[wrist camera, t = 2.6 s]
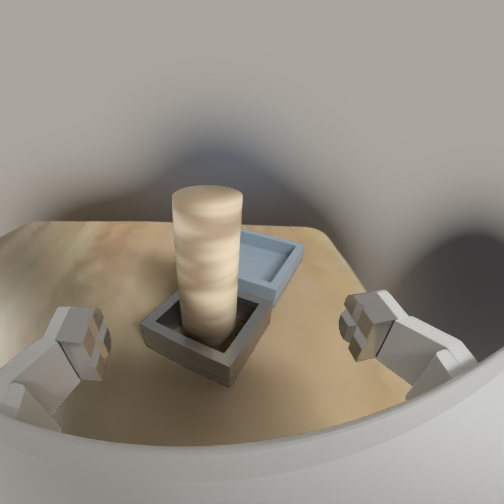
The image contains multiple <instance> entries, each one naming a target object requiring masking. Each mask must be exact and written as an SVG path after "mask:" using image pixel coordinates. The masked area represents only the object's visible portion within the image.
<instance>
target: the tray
mask: <svg viewBox="0 0 504 504" xmlns="http://www.w3.org/2000/svg"><path fill="white" fill-rule="evenodd" d="M304 246H305V245H304V244H300V243H297V242H293V241H289V240H285V239H281V238H277V237H273V236H270V235H266V234H262V233H258V232H254V231H250V230H246V229H242V228H241V233H240V251H239V270H238V290H240V291H243V292H246V293H249V294H252V295H255V296H258V297H262V298H265V299H268V300H271V301H273V304H272V308H274V306H275V305H276V303H277V301H278V300H279V298H280V296H281V295H282V293H283V291H284V290H285V288H286V286H287V285H288V283H289V281H290V280H291V278H292V276H293V275H294V273H295V271H296V269H297V268H298V266H299V264H300V263H301V261H302V257H303V252H304Z"/></svg>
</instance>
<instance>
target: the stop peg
mask: <svg viewBox="0 0 504 504" xmlns="http://www.w3.org/2000/svg"><path fill="white" fill-rule="evenodd" d="M242 196H243V195H242V194H241V192H239V191H237V190H235V189H232V188H229V187H224V186H216V185H200V186H191V187H187V188H183V189H180V190H178V191H176V192H174V193H173V195H172V209H173V229H174V244H175V257H176V269H177V280H178V290H179V299H180V307H181V316H182V323H183V331H184V336H186V337H188V338H190V339H192V340H195V341H197V342H199V343H201V344H204V345H206V346H208V347H210V348H213V349H215V350H217V351H220V352H222V353H223V352H225V351H226V350H227V349H228V348H229V346H230V345H231V343H232V342H233V341H234V339H235V332H236V310H237V290H238V270H239V251H240V233H241V215H242V199H243V198H242Z"/></svg>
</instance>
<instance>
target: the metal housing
mask: <svg viewBox="0 0 504 504" xmlns="http://www.w3.org/2000/svg"><path fill="white" fill-rule="evenodd" d="M272 304H273V301H271V300H268V299H265V298H262V297H258V296H255V295H252V294H249V293H246V292H243V291H240V290H237V310H236V319H239V320H242V321H244V322H246V324H245V325H244V327H243V328H242V329H241V331H240V332H239V334H238V335H237V337H236V338H235V339H234V341H233V342H232V343H231V345H230V346H229V348H228V349H227V350H226V352H225V353H222V352H220V351H217V350H215V349H213V348H210V347H208V346H206V345H204V344H201V343H199V342H197V341H195V340H192V339H190V338H188V337H186V336H184V335H182V334H180V333H178V332H176V331H174V329H175V328H176V327H177V326H178V325H179V324H180V323H181V322H182V316H181V307H180V299H179V290H177V291H176V292H175V293H174V294H173V295H171V296H170V297H169V298H168V299H167V300H166V301H165V302H163V303H162V304H161V305H160V306H159V307H158V308H157V309H156V310H154V311H153V312H152V313H151V314H150V315H149V316H148V317H147V318H145V319H144V320H143V321H142V322H141V323H140V326H141V329H142V333H143V337H144V340H145V344H146V346H148V347H149V348H151V349H153V350H155V351H157V352H158V353H160V354H162V355H164V356H166V357H167V358H169V359H171V360H173V361H175V362H177V363H179V364H181V365H183V366H185V367H187V368H189V369H191V370H193V371H195V372H197V373H199V374H201V375H203V376H205V377H207V378H209V379H212V380H214V381H216V382H218V383H220V384H223V385H225V386H227V387H230V386H231V384H232V383H233V381H234V380H235V378H236V377H237V375H238V373H239V372H240V370H241V369H242V367H243V366H244V364H245V362H246V361H247V359H248V358H249V356H250V354H251V353H252V351H253V350H254V348H255V346H256V345H257V343H258V341H259V340H260V338H261V337H262V335H263V333H264V332H265V330H266V328H267V327H268V325H269V323H270V317H271V310H272Z"/></svg>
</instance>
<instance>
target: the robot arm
mask: <svg viewBox="0 0 504 504" xmlns="http://www.w3.org/2000/svg"><path fill="white" fill-rule="evenodd" d="M344 305H345V307H346V309H345V310H344V311H343V312H342V313H341V315H340V319H339V330H340V334H341V336H342V338H343V339H344V340H345V341H347V342H349V343H350V344H349V348H348V349H349V350H350V352H351V354H352V356H353V358H354V359H355V361H356V362H359V361H363V360H368V359H372V358H376V359H377V360H378V361H379V362H381V363H382V364H383V365H385V366H386V367H387V368H389V369H390V370H391V371H393V372H394V373H396V374H397V375H398V376H400V377H401V378H402V379H404V380H405V381H406V382H408V383H409V384H410V385H412V388H411V389H410V390H409V392H408V393H407V394H406V397H405V398H406V400H407V401H405V402H402V403H400V404H397V405H395V406H392V407H390V408H387V409H385V410H382V411H379V412H376V413H374V414H371V415H368V416H365V417H362V418H359V419H355V420H352V421H349V422H346V423H342V424H339V425H335V426H331V427H328V428H324V429H320V430H315V431H311V432H307V433H302V434H297V435H292V436H287V437H282V438H276V439H269V440H263V441H255V442H247V443H238V444H226V445H211V446H152V445H137V444H126V443H117V442H109V441H102V440H96V439H90V438H84V437H79V436H74V435H70V434H65V433H62V428H61V426H60V425H59V424H58V423H57V422H56V421H55V420H54V419H53V418H52V415H53V414H54V413H55V412H56V410H57V409H58V408H59V407H60V405H61V404H62V403H63V402H64V401H65V399H66V398H67V397H68V396H69V395H70V393H71V392H72V391H73V390H74V389H75V387H76V386H77V385H78V384H79V383H80V382H81V380H90V381H103V379H104V374H105V370H106V366H107V365H106V363H105V361H104V359H105V358H106V357H107V356H108V355H109V353H110V348H111V339H110V334H109V331H108V328H107V327H106V326H105V325H104V324H103V323H102V321H103V318H104V317H103V315H102V312H101V310H100V309H99V308H91V307H68V306H60V307H58V308H57V309H56V311H55V313H54V315H53V317H52V319H51V321H50V323H49V325H48V327H47V329H46V331H45V333H44V335H43V337H42V340H39V339H38V340H37V341H35V342H34V343H33V344H31V345H30V346H29V347H27V348H26V349H25V350H24V351H22V352H21V353H20V354H18V355H17V356H16V357H15V358H13V359H12V360H11V361H10V362H8V363H7V364H6V365H5V366H4V367H2V368H1V369H0V504H504V347H503V348H501V349H500V350H498V351H497V352H495V353H494V354H492V355H491V356H489V357H488V358H486V359H485V360H483V361H482V362H480V363H478V362H477V361H476V359H475V358H474V357H473V356H472V354H471V353H470V352H469V350H468V349H467V348H466V347H465V345H464V344H463V343H462V342H461V341H460V340H458V339H456V338H454V337H452V336H450V335H448V334H446V333H444V332H442V331H440V330H438V329H436V328H434V327H432V326H430V325H428V324H426V323H424V322H422V321H420V320H418V319H416V318H414V317H412V316H411V317H409V316H408V315H407V314H406V313H405V311H404V310H403V309H402V308H401V307H400V305H399V304H398V303H397V302H396V301H395V300H394V298H393V297H392V296H391V295H390V294H389V293H388V291H386V290H379V291H373V292H367V293H360V294H352V295H348V296H347V298H346V300H345V303H344Z"/></svg>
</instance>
